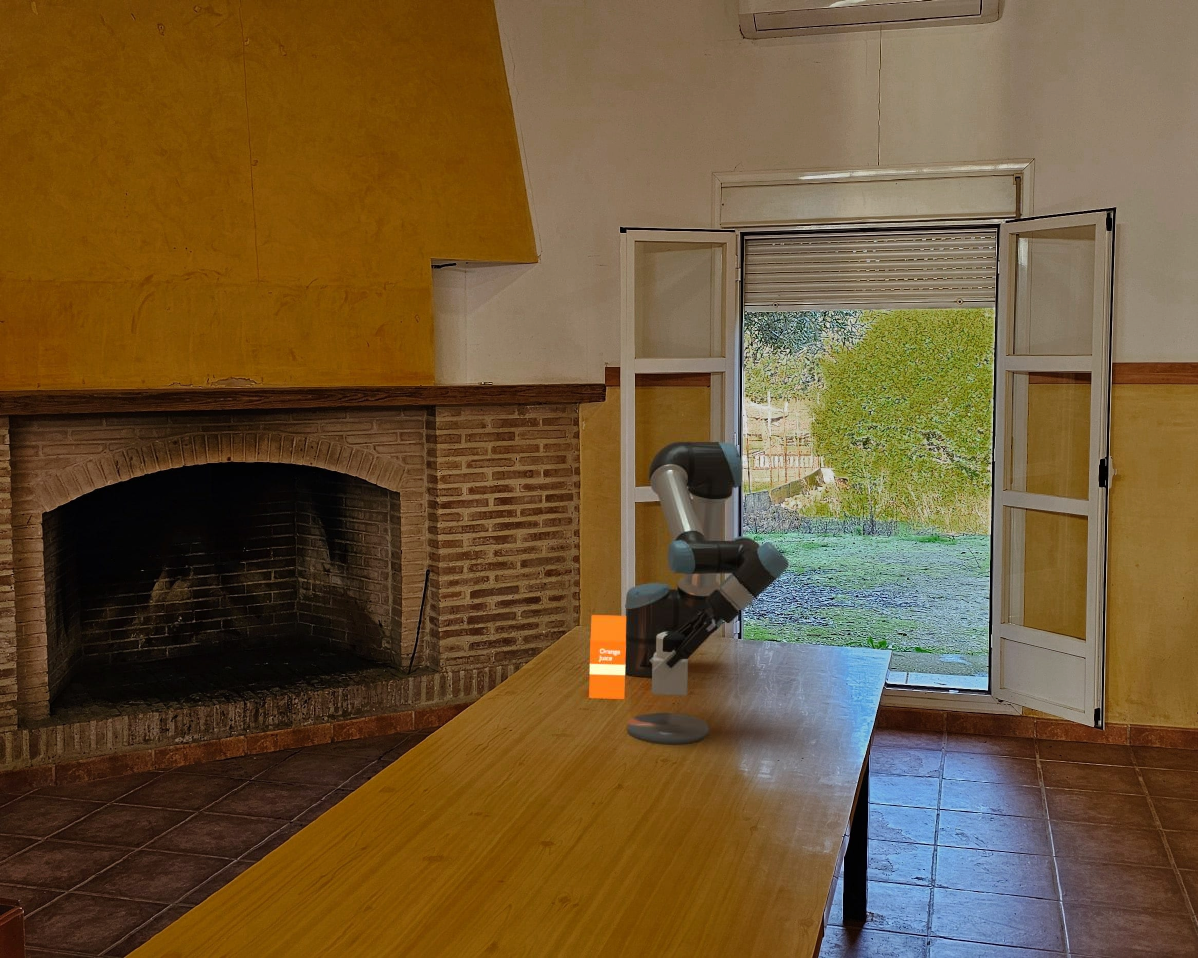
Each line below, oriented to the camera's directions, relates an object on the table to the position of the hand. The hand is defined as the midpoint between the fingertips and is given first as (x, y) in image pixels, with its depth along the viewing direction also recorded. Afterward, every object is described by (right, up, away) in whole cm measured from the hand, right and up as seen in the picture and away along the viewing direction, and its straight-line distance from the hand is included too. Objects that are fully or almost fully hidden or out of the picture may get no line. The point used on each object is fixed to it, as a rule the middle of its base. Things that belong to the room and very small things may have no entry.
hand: (655, 669), depth 249 cm
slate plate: (+3, -14, +2) cm, 14 cm away
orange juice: (-11, -12, +31) cm, 35 cm away
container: (+3, -5, 0) cm, 6 cm away
